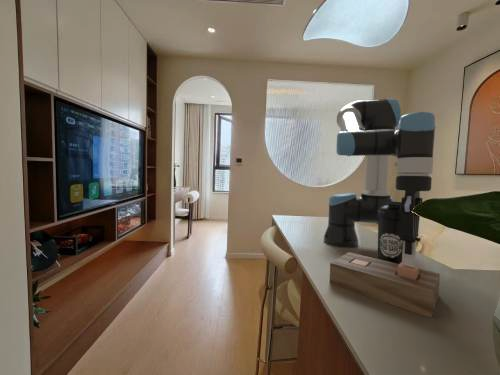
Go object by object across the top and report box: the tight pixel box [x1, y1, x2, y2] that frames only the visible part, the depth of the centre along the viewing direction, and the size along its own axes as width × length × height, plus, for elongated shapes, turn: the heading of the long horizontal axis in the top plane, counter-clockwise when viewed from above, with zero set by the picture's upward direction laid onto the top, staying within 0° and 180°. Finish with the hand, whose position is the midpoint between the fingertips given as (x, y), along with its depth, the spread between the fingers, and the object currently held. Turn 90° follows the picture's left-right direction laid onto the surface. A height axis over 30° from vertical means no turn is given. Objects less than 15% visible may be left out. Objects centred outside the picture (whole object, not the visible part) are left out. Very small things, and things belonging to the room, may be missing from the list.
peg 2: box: [397, 262, 420, 281], centre depth 62 cm, size 4×4×6 cm
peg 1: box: [351, 259, 369, 267], centre depth 70 cm, size 4×4×6 cm
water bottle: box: [377, 201, 403, 264], centre depth 80 cm, size 10×10×23 cm
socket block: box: [329, 251, 441, 319], centre depth 66 cm, size 14×24×6 cm, turn 46°
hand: (408, 265), depth 62 cm, fingers closed
